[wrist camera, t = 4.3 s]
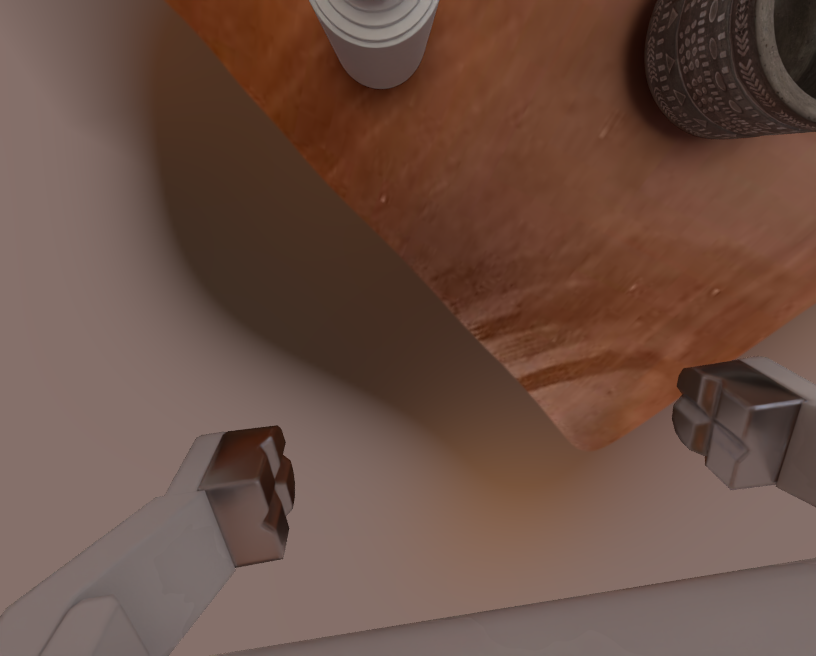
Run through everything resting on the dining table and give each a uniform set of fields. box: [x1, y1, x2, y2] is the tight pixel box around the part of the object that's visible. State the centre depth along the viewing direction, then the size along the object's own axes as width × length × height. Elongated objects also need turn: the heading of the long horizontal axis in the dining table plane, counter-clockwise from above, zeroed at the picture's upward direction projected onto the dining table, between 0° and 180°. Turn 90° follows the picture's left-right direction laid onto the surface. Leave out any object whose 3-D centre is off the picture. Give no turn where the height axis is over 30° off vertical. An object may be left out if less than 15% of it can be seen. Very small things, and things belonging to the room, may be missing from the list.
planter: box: [644, 0, 816, 139], centre depth 26 cm, size 12×12×13 cm
